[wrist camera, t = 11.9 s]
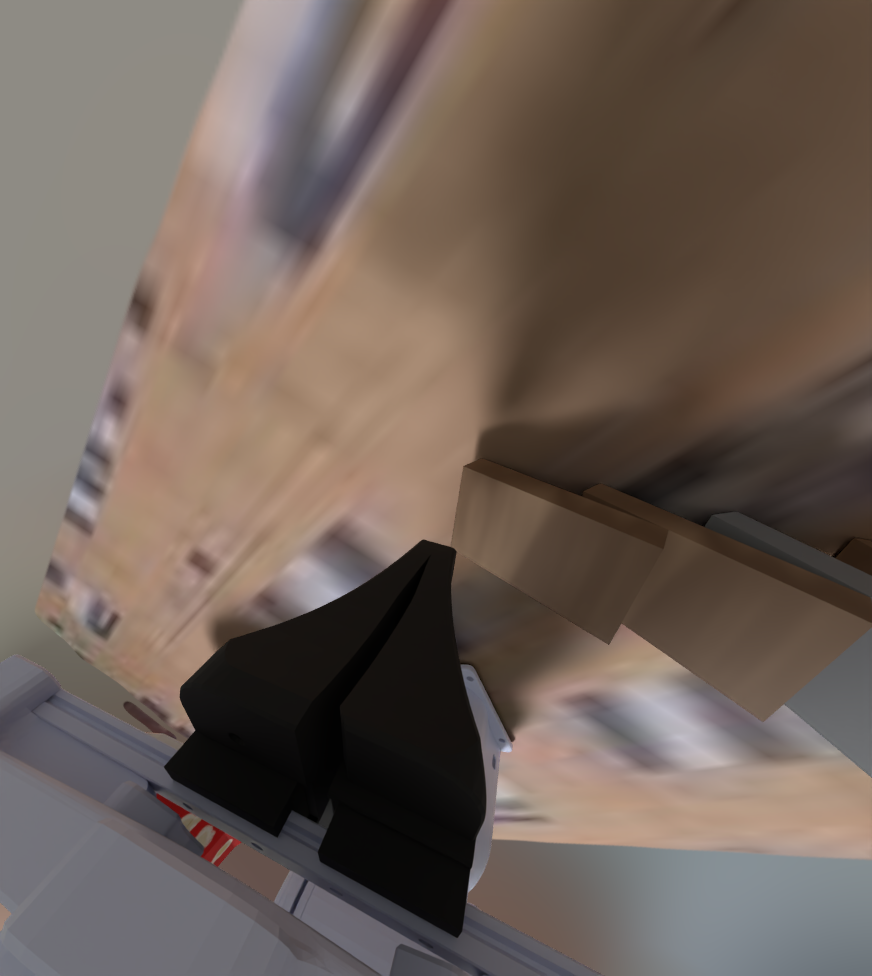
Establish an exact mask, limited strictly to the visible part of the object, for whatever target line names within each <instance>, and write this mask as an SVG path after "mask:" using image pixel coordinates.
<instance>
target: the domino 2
mask: <svg viewBox="0 0 872 976" xmlns="http://www.w3.org/2000/svg"><path fill="white" fill-rule="evenodd" d="M582 497H584V498H587V499H590V500H592V501H595V502H597V503H600V504H603V505H605V506H608V507H611V508H613V509H616V510H618V511H621V512H624V513H626V514H629V515H631V516H634V517H637V518H639V519H642V520H645V521H647V522H650V523H652V524H655V525H658V526H660V527H663V528H665V529H668V530H669V531H668V535H667V538H666V542H665V545H664V549H663V551H662V553H661V554H660V556H659V558H658V560H657V561H656V563H655V565H654V567H653V568H652V570H651V572H650V574H649V575H648V577H647V579H646V581H645V582H644V584H643V586H642V588H641V590H640V591H639V593H638V595H637V597H636V598H635V600H634V602H633V604H632V605H631V607H630V609H629V611H628V612H627V614H626V616H625V618H624V619H623V621H622V624H623V625H625V626H626V627H628V628H629V629H631V630H632V631H633V632H635V633H636V634H638V635H639V636H641V637H642V638H643V639H645V640H646V641H648V642H649V643H651V644H652V645H653V646H655V647H656V648H658V649H659V650H661V651H662V652H663V653H665V654H666V655H668V656H669V657H671V658H672V659H673V660H675V661H676V662H678V663H679V664H681V665H682V666H683V667H685V668H686V669H688V670H689V671H691V672H692V673H693V674H695V675H696V676H698V677H699V678H701V679H702V680H703V681H705V682H706V683H708V684H709V685H711V686H712V687H714V688H715V689H716V690H718V691H719V692H721V693H722V694H724V695H725V696H726V697H728V698H729V699H731V700H732V701H734V702H735V703H736V704H738V705H739V706H741V707H742V708H744V709H745V710H746V711H748V712H749V713H751V714H752V715H754V716H755V717H756V718H758V719H759V720H761V721H762V722H764V721H765V720H766V719H767V718H768V717H770V716H771V715H772V714H773V713H774V712H775V711H776V710H778V709H779V708H780V707H781V706H782V705H783V704H784V703H786V702H787V701H788V700H789V699H790V698H791V697H793V696H794V695H795V694H796V693H797V692H798V691H799V690H801V689H802V688H803V687H804V686H805V685H806V684H807V683H809V682H810V681H811V680H812V679H813V678H814V677H815V676H817V675H818V674H819V673H820V672H821V671H822V670H823V669H825V668H826V667H827V666H828V665H829V664H830V663H831V662H833V661H834V660H835V659H836V658H837V657H838V656H840V655H841V654H842V653H843V652H844V651H845V650H846V649H848V648H849V647H850V646H851V645H852V644H853V643H854V642H856V641H857V640H858V639H859V638H860V637H861V636H862V635H864V634H865V633H866V632H867V631H868V630H869V629H870V628H872V600H871V598H870V597H868V596H866V595H863V594H861V593H859V592H856V591H854V590H852V589H849V588H847V587H845V586H842V585H840V584H837V583H835V582H833V581H830V580H828V579H826V578H823V577H821V576H819V575H816V574H814V573H811V572H809V571H807V570H804V569H802V568H800V567H797V566H795V565H793V564H790V563H788V562H786V561H783V560H781V559H778V558H776V557H774V556H771V555H769V554H767V553H764V552H762V551H760V550H757V549H755V548H752V547H750V546H748V545H745V544H743V543H741V542H738V541H736V540H734V539H731V538H729V537H726V536H724V535H722V534H719V533H717V532H715V531H712V530H710V529H708V528H705V527H703V526H701V525H698V524H696V523H693V522H691V521H689V520H686V519H684V518H682V517H679V516H677V515H675V514H672V513H670V512H667V511H665V510H663V509H660V508H658V507H656V506H653V505H651V504H649V503H646V502H644V501H641V500H639V499H637V498H634V497H632V496H630V495H627V494H625V493H623V492H620V491H618V490H616V489H613V488H611V487H608V486H606V485H604V484H601V483H600V484H598V485H596V486H594V487H591V488H589V489H587V490H585V491H583V494H582Z"/></svg>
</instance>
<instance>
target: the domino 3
mask: <svg viewBox="0 0 872 976" xmlns="http://www.w3.org/2000/svg"><path fill="white" fill-rule="evenodd" d="M705 528H708V529H710V530H712V531H715V532H717V533H719V534H722V535H724V536H726V537H729V538H731V539H734V540H736V541H738V542H741V543H743V544H745V545H748V546H750V547H752V548H755V549H757V550H760V551H762V552H764V553H767V554H769V555H771V556H774V557H776V558H778V559H781V560H783V561H786V562H788V563H790V564H793V565H795V566H797V567H800V568H802V569H804V570H807V571H809V572H811V573H814V574H816V575H819V576H821V577H823V578H826V579H828V580H830V581H833V582H835V583H837V584H840V585H842V586H845V587H847V588H849V589H852V590H854V591H856V592H859V593H861V594H863V595H866V596H868V597H870V598H871V600H872V576H871V575H869V574H867V573H865V572H863V571H861V570H858V569H856V568H854V567H852V566H850V565H848V564H846V563H844V562H842V561H840V560H838V559H835V558H833V557H831V556H829V555H827V554H825V553H823V552H821V551H819V550H817V549H814V548H812V547H810V546H808V545H806V544H804V543H802V542H800V541H798V540H796V539H793V538H791V537H789V536H787V535H785V534H783V533H781V532H779V531H777V530H775V529H773V528H770V527H768V526H766V525H764V524H762V523H760V522H758V521H756V520H754V519H752V518H749V517H747V516H745V515H743V514H741V513H739V512H729V513H722V514H714V515H712V516H711V517H710V519H709V521H708V522H707V524H706V525H705ZM784 704H785V705H786V706H787V707H788V708H790V709H791V710H792V711H793V712H794V713H795V714H797V715H798V716H799V717H800V718H801V719H803V720H804V721H805V722H806V723H807V724H809V725H810V726H811V727H812V728H813V729H814V730H816V731H817V732H818V733H819V734H820V735H822V736H823V737H824V738H825V739H826V740H827V741H829V742H830V743H831V744H832V745H833V746H835V747H836V748H837V749H838V750H839V751H841V752H842V753H843V754H844V755H845V756H846V757H848V758H849V759H850V760H851V761H852V762H854V763H855V764H856V765H857V766H858V767H860V768H861V769H862V770H863V771H864V772H865V773H867V774H868V775H869V776H870V777H871V778H872V628H870V629H869V630H868V631H867V632H866V633H865V634H864V635H862V636H861V637H860V638H859V639H858V640H857V641H856V642H854V643H853V644H852V645H851V646H850V647H849V648H848V649H846V650H845V651H844V652H843V653H842V654H841V655H840V656H838V657H837V658H836V659H835V660H834V661H833V662H831V663H830V664H829V665H828V666H827V667H826V668H825V669H823V670H822V671H821V672H820V673H819V674H818V675H817V676H815V677H814V678H813V679H812V680H811V681H810V682H809V683H807V684H806V685H805V686H804V687H803V688H802V689H801V690H799V691H798V692H797V693H796V694H795V695H794V696H793V697H791V698H790V699H789V700H788V701H787V702H786V703H784Z"/></svg>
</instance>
